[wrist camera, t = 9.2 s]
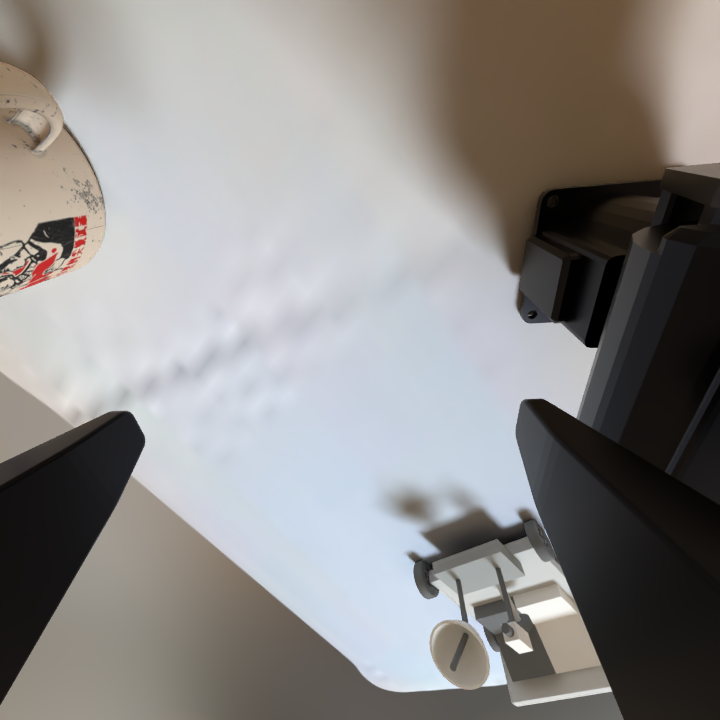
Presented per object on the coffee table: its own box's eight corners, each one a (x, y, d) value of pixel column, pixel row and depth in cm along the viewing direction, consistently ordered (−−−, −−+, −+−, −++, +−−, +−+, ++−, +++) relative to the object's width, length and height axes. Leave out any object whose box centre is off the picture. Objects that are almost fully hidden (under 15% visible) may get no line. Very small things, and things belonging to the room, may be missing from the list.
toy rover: (398, 685, 23) (572, 648, 18) (394, 542, 31) (513, 493, 27) (524, 757, 29) (675, 742, 25) (493, 622, 37) (601, 594, 33)
